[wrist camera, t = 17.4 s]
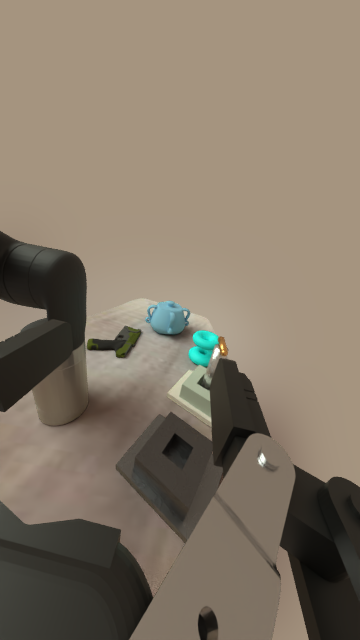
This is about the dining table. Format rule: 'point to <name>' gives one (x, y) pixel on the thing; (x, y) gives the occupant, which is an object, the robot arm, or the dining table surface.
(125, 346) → the gun
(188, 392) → the pale green socket base
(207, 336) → the donuts
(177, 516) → the block
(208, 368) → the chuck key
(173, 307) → the decorative pot
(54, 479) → the dining table surface
